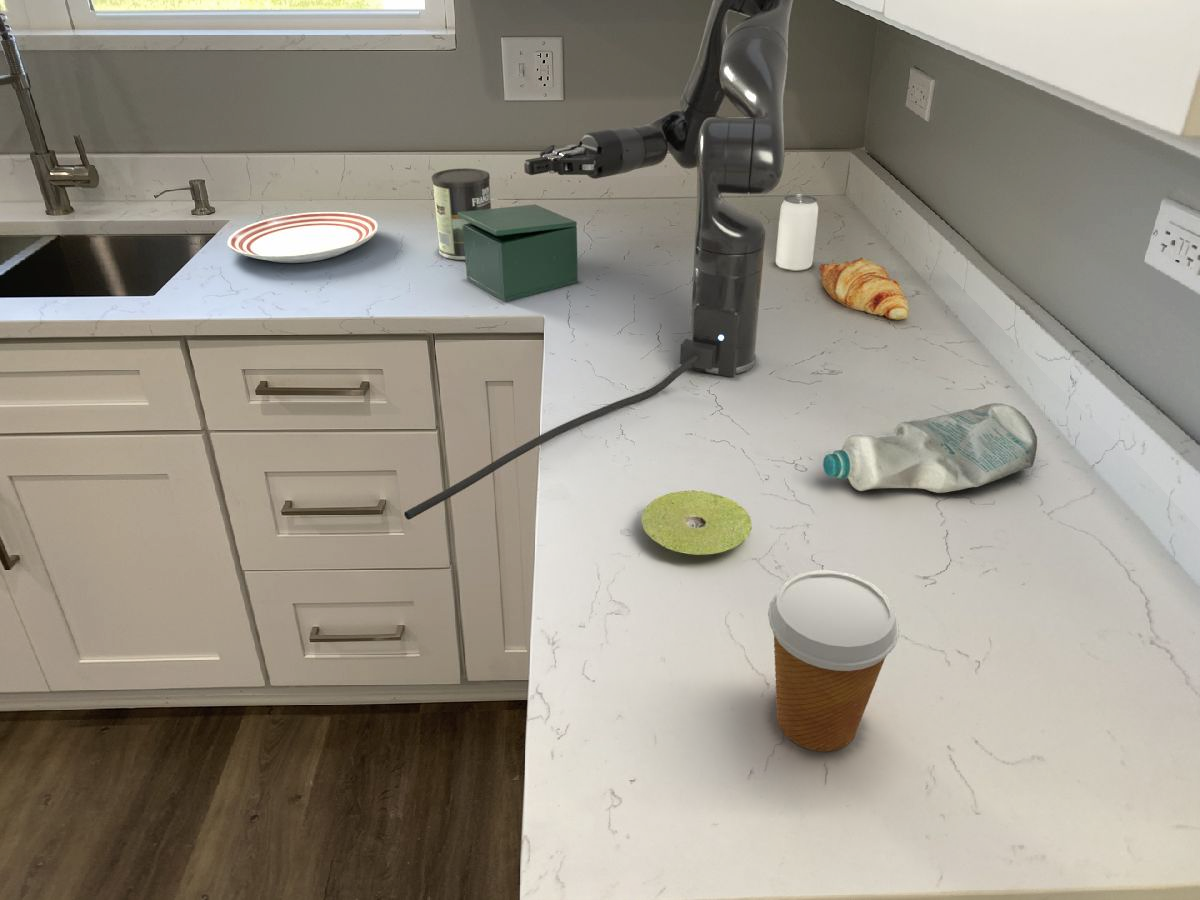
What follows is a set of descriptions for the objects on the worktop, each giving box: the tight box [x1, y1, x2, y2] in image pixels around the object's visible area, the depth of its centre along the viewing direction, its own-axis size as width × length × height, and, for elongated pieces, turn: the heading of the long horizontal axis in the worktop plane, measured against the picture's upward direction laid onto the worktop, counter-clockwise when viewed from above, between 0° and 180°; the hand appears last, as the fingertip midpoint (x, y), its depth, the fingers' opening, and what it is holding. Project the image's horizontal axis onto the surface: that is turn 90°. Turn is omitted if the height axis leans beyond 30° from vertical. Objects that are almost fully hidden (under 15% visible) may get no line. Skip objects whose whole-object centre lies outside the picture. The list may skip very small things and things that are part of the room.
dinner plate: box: [226, 211, 379, 264], centre depth 174 cm, size 28×27×3 cm
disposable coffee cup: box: [767, 569, 900, 752], centre depth 71 cm, size 10×10×12 cm
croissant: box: [819, 257, 910, 320], centre depth 149 cm, size 21×10×8 cm, turn 26°
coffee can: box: [431, 167, 492, 261], centre depth 169 cm, size 10×10×14 cm
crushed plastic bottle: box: [822, 402, 1038, 494], centre depth 103 cm, size 13×7×25 cm
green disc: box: [641, 490, 752, 556], centre depth 95 cm, size 11×11×2 cm
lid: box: [458, 204, 578, 236], centre depth 153 cm, size 15×13×1 cm
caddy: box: [463, 223, 579, 303], centre depth 156 cm, size 15×13×10 cm
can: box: [775, 193, 819, 272], centre depth 162 cm, size 6×6×12 cm
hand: (526, 167), depth 150 cm, fingers closed
